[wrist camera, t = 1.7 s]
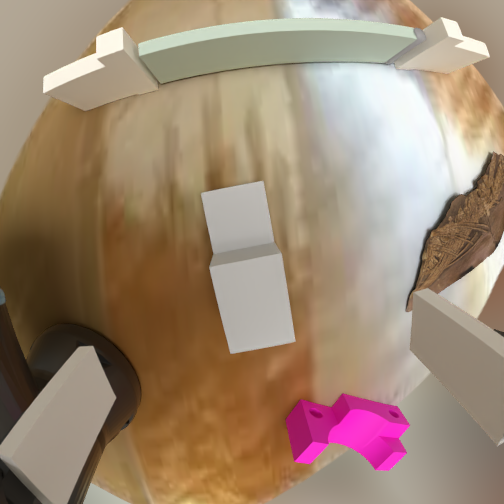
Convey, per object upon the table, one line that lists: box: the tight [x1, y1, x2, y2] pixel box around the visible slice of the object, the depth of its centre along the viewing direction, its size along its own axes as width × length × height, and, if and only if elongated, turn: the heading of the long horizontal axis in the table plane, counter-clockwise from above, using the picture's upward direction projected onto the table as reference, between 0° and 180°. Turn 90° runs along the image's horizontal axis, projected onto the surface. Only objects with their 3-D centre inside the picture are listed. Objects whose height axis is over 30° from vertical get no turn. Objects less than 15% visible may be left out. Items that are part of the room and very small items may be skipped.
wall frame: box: [43, 17, 490, 111], centre depth 20 cm, size 41×2×10 cm, turn 99°
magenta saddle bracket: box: [286, 393, 410, 471], centre depth 30 cm, size 15×6×8 cm, turn 64°
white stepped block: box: [201, 181, 295, 354], centre depth 25 cm, size 5×12×8 cm, turn 10°
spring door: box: [138, 18, 426, 84], centre depth 20 cm, size 24×3×7 cm, turn 99°
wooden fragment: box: [406, 152, 504, 312], centre depth 29 cm, size 26×11×1 cm, turn 131°
